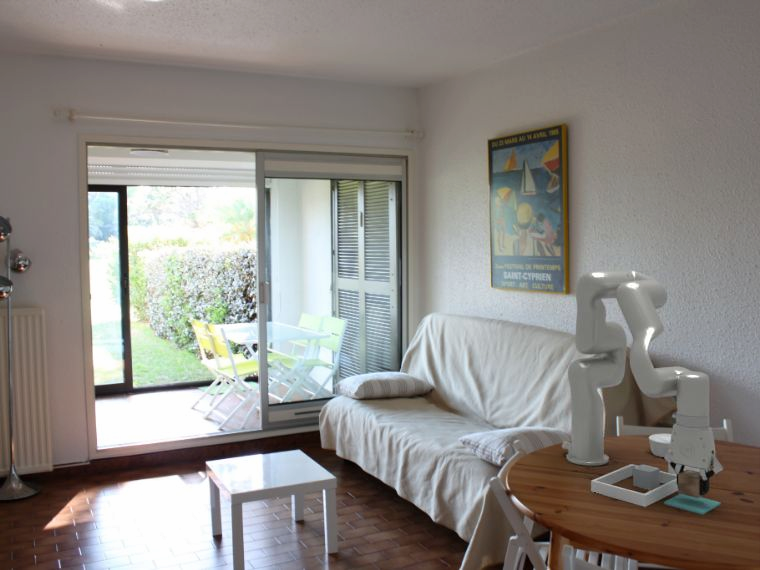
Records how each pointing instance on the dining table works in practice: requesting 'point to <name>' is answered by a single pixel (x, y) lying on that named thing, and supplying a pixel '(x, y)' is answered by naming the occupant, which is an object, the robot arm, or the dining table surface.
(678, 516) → the dining table surface
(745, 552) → the dining table surface
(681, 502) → the teal mat
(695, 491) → the walnut box
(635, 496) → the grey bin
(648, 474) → the slate box
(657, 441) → the ramekin
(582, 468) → the dining table surface
